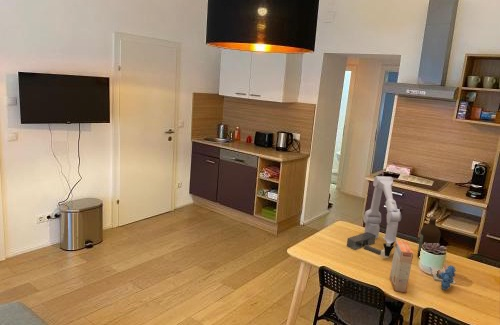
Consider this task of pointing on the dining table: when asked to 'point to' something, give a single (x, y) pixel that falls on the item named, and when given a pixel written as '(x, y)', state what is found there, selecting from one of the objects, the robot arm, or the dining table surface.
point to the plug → (376, 251)
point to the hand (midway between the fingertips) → (387, 253)
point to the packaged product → (437, 276)
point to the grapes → (447, 277)
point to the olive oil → (429, 234)
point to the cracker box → (401, 266)
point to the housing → (361, 240)
